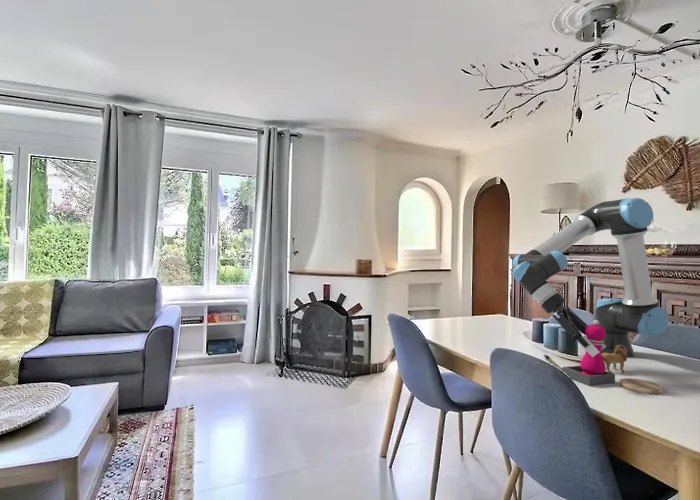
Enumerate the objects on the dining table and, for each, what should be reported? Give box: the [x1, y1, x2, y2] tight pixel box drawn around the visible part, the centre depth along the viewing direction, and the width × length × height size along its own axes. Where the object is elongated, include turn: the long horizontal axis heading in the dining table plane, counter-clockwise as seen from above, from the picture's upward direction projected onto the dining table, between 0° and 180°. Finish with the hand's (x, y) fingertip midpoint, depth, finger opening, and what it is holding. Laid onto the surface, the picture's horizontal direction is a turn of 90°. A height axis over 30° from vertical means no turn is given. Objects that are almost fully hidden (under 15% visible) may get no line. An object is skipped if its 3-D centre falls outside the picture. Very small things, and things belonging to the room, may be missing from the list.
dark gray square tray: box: [562, 364, 616, 387], centre depth 131 cm, size 11×11×3 cm
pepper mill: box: [579, 319, 607, 376], centre depth 130 cm, size 7×7×20 cm
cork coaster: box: [618, 377, 664, 395], centre depth 124 cm, size 11×11×1 cm
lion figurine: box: [602, 345, 628, 374], centre depth 141 cm, size 15×5×9 cm, turn 116°
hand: (599, 351), depth 129 cm, fingers open, 9 cm apart
